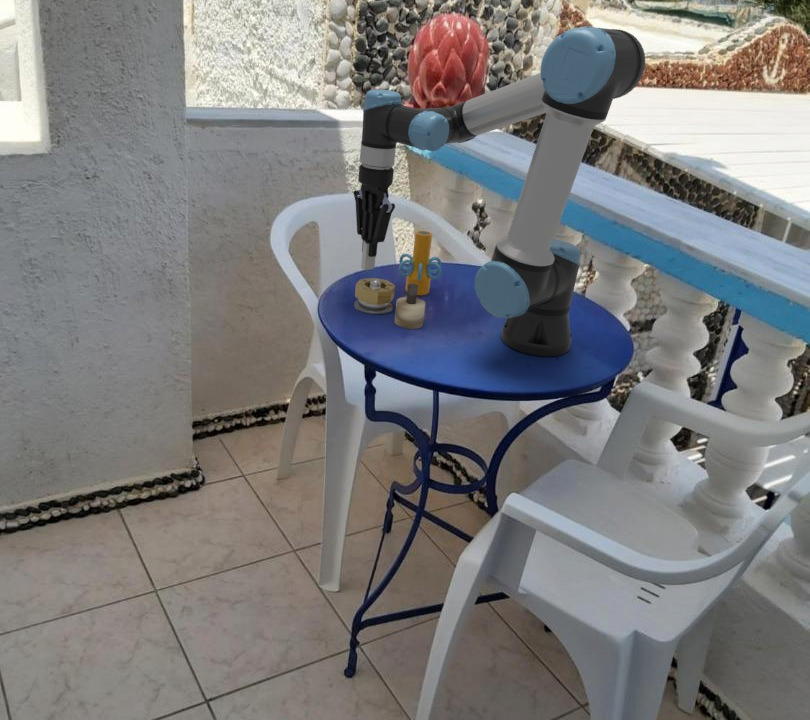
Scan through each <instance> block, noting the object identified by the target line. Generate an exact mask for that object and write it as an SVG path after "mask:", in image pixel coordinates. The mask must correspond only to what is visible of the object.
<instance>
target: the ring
mask: <svg viewBox="0 0 810 720" xmlns="http://www.w3.org/2000/svg"><path fill="white" fill-rule="evenodd" d="M373 279H378V280H379V281H380V282H381V288H380V289H375V288H369V287H370V282H371V281H372V280H373ZM395 289H396V284H394V283H392V282H390V281H389V280H387V279H381V278H376V277H371V278H367V277H366V278H360V279H359V280H358V281H357V282H356V283H355V290H354V291H355V292H354V297H355V298H356V299H357V300H358V299H359V300H360V301H362V302H366V303H371V304H385V303H391V302H392V301H393V299H395Z"/></svg>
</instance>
